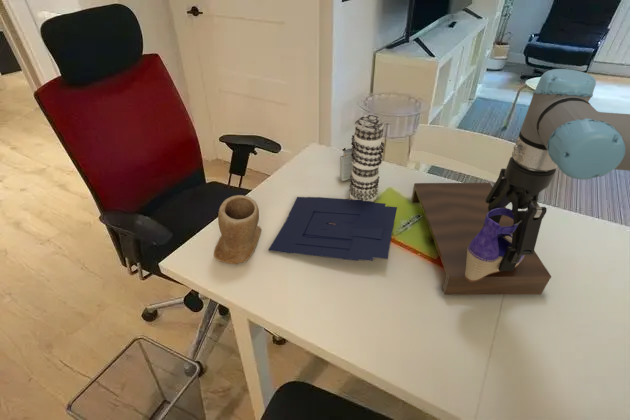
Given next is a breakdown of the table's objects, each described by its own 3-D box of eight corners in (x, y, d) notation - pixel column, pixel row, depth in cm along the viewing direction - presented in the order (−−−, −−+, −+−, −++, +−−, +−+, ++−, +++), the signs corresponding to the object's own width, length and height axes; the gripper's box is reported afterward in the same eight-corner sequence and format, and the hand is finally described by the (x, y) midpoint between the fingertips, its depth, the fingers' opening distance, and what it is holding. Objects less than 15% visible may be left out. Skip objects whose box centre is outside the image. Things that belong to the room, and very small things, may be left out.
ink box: (368, 170, 125) (371, 139, 118) (372, 173, 124) (375, 142, 116) (338, 178, 122) (339, 146, 114) (341, 181, 120) (343, 150, 113)
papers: (386, 272, 88) (386, 261, 85) (269, 258, 96) (267, 248, 94) (397, 210, 106) (398, 200, 104) (298, 203, 115) (297, 193, 112)
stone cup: (254, 270, 90) (247, 223, 81) (209, 263, 92) (196, 216, 83) (272, 230, 102) (268, 184, 92) (231, 224, 104) (223, 179, 94)
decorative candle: (343, 190, 116) (346, 114, 101) (369, 184, 119) (377, 109, 103) (355, 206, 110) (362, 128, 94) (383, 199, 112) (394, 123, 97)
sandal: (539, 256, 82) (567, 202, 73) (474, 291, 74) (496, 235, 65) (508, 235, 88) (530, 182, 78) (445, 264, 80) (461, 210, 71)
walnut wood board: (541, 294, 84) (551, 276, 80) (444, 294, 84) (449, 277, 80) (484, 199, 112) (489, 182, 109) (411, 199, 112) (414, 183, 109)
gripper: (488, 132, 74) (461, 218, 88) (542, 199, 57) (498, 293, 71) (526, 132, 74) (493, 218, 88) (591, 199, 57) (537, 293, 71)
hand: (495, 251), depth 80 cm, fingers closed on sandal, 10 cm apart
